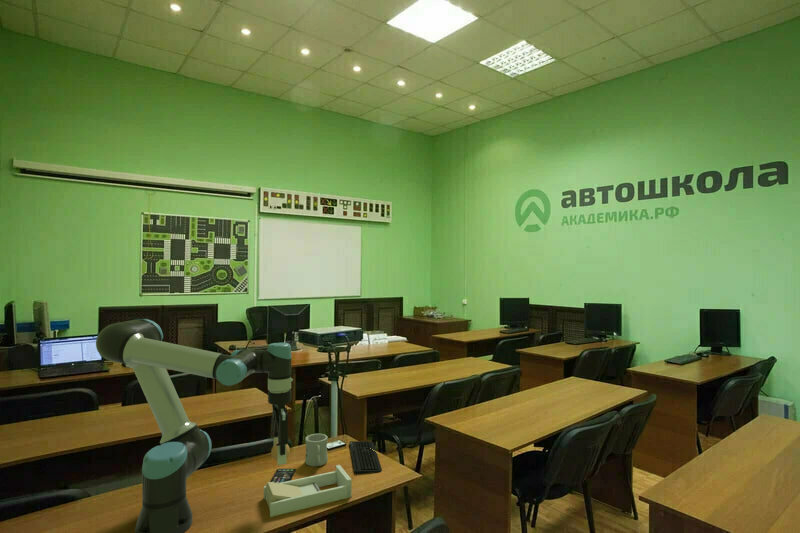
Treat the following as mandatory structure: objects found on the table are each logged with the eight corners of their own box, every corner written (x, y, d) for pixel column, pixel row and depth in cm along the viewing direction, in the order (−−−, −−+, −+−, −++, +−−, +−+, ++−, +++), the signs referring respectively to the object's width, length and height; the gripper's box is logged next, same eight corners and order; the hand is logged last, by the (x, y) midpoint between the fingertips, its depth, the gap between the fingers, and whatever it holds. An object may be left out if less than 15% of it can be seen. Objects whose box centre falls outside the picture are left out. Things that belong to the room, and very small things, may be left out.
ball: (273, 466, 139) (272, 447, 139) (269, 459, 145) (269, 441, 145) (291, 462, 142) (291, 443, 142) (287, 455, 147) (287, 437, 147)
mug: (304, 459, 178) (304, 434, 178) (326, 456, 180) (326, 432, 181) (306, 472, 166) (306, 446, 166) (330, 469, 169) (330, 443, 169)
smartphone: (296, 468, 169) (287, 487, 154) (296, 470, 169) (287, 489, 154) (277, 468, 169) (266, 487, 154) (277, 470, 169) (266, 489, 154)
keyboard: (382, 473, 166) (382, 468, 166) (354, 475, 164) (354, 470, 164) (373, 443, 195) (373, 439, 195) (349, 445, 193) (349, 440, 193)
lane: (270, 516, 136) (270, 497, 136) (263, 498, 147) (263, 480, 147) (351, 496, 148) (351, 479, 148) (339, 481, 159) (339, 464, 159)
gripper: (297, 395, 137) (298, 469, 136) (285, 382, 154) (285, 447, 153) (273, 399, 133) (273, 474, 133) (263, 384, 150) (263, 451, 150)
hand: (279, 460), depth 143 cm, fingers closed on ball, 6 cm apart
